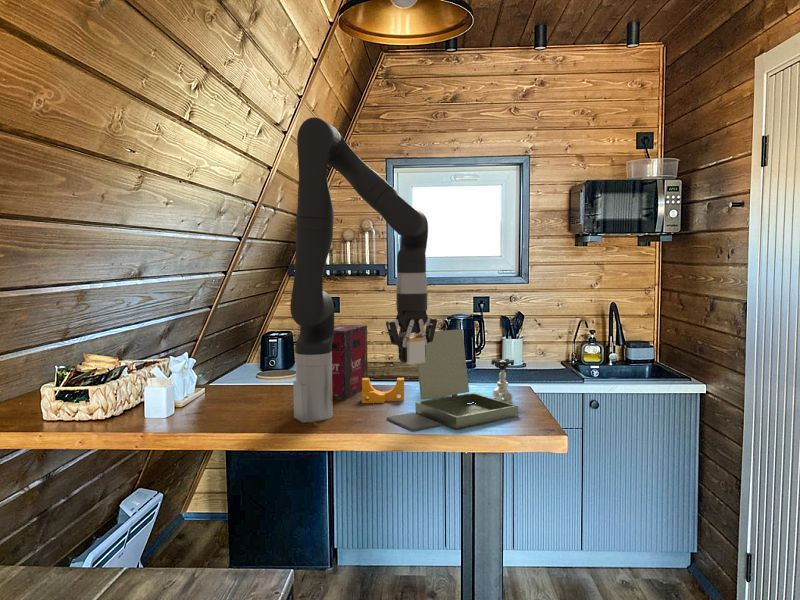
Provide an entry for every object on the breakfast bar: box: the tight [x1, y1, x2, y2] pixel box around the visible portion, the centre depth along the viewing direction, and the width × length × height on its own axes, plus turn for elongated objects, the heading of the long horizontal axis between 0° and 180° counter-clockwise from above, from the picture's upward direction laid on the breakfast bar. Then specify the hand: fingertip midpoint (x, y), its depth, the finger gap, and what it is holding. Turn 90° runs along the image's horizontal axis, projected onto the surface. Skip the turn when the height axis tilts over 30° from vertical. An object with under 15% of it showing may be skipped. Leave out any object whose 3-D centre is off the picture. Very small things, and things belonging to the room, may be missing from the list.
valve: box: [491, 358, 515, 404], centre depth 156 cm, size 7×7×12 cm
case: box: [414, 392, 519, 431], centre depth 145 cm, size 20×22×11 cm
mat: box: [386, 412, 441, 432], centre depth 137 cm, size 8×12×1 cm, turn 32°
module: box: [399, 336, 425, 365], centre depth 136 cm, size 4×4×6 cm
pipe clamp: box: [361, 377, 405, 404], centre depth 159 cm, size 12×4×6 cm, turn 89°
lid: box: [413, 328, 470, 401], centre depth 152 cm, size 16×18×2 cm
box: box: [332, 324, 369, 401], centre depth 170 cm, size 16×9×20 cm, turn 160°
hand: (412, 360), depth 136 cm, fingers closed on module, 4 cm apart
